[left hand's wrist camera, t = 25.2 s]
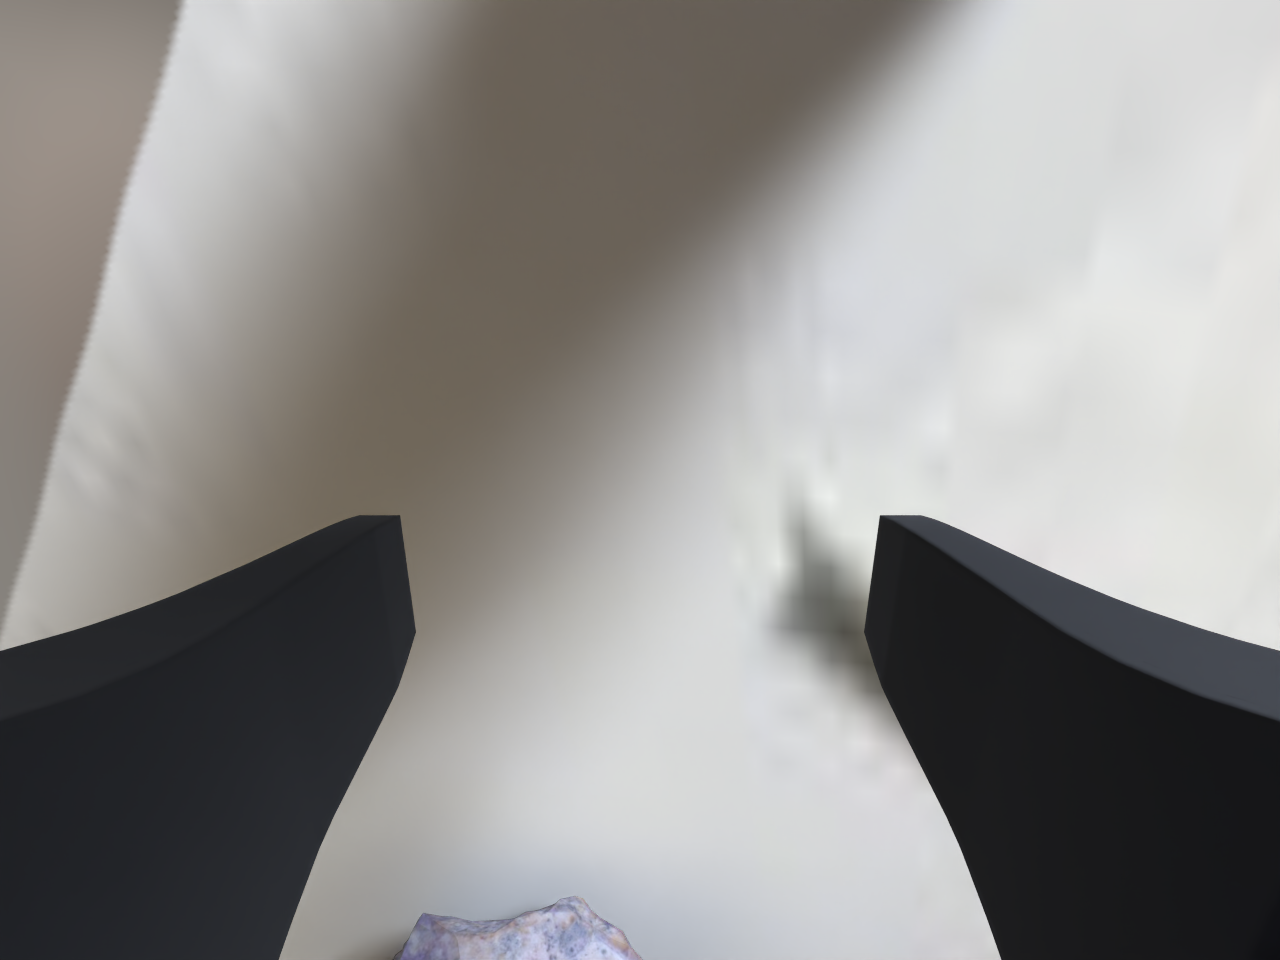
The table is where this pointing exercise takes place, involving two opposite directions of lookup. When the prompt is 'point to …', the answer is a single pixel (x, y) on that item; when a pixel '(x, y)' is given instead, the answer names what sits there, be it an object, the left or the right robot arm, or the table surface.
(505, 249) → the table surface
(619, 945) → the stone
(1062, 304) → the table surface
